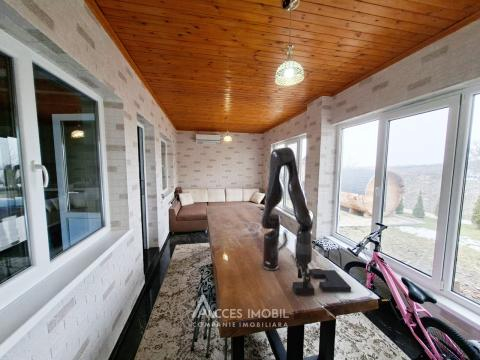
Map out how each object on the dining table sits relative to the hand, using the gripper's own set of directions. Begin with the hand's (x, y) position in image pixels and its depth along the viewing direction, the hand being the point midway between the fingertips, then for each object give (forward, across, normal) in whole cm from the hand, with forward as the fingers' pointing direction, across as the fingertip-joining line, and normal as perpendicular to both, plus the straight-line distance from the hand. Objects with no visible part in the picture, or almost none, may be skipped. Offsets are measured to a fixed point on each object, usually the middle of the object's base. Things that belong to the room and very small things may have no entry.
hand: (302, 283), depth 94 cm
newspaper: (+4, -31, +12) cm, 33 cm away
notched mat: (+5, -9, +17) cm, 20 cm away
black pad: (+5, -1, +1) cm, 5 cm away
